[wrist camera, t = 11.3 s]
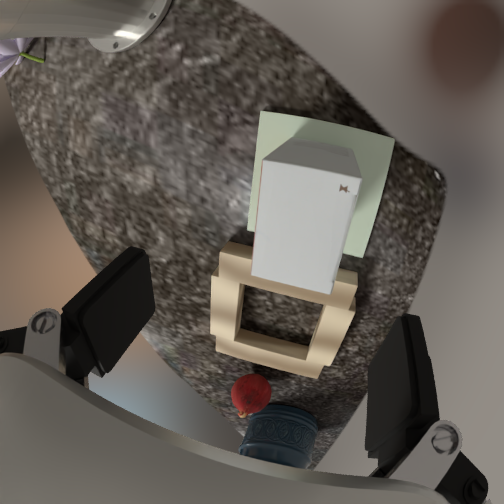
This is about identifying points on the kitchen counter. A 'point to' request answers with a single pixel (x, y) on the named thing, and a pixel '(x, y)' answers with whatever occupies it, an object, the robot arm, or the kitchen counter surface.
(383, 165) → the pad
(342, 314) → the wooden square frame
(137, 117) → the kitchen counter surface
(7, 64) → the water lily
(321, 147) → the small box
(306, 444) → the canister
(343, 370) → the kitchen counter surface
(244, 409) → the red round piece
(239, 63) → the kitchen counter surface
